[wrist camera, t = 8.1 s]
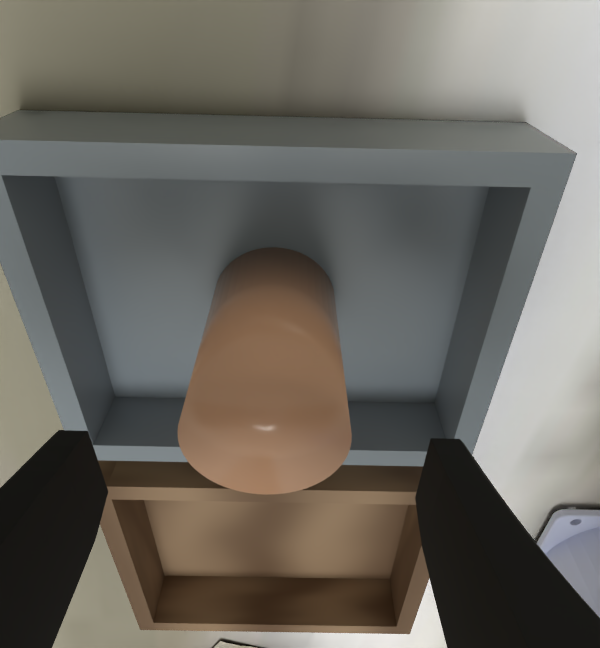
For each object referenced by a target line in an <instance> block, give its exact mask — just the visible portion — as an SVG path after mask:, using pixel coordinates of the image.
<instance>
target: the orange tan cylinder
mask: <svg viewBox="0 0 600 648" xmlns="http://www.w3.org/2000/svg"><path fill="white" fill-rule="evenodd" d="M177 433H178V442H179V446H180V449H181V451H182V453H183V455H184V456H185V458H186V459H187V461H188V462H189V463H190V464H191V466H192V467H193V468H194V469H195V470H197V471H198V472H199V473H200V474H201V475H203V476H204V477H206V478H207V479H209V480H211V481H213V482H215V483H217V484H219V485H221V486H224V487H226V488H229V489H233V490H236V491H240V492H245V493H252V494H265V495H268V494H284V493H290V492H295V491H299V490H302V489H306V488H308V487H311V486H313V485H316V484H318V483H320V482H321V481H323V480H325V479H326V478H328V477H329V476H331V475H332V474H333V473H334V472H335V471H337V469H338V468H339V467H340V466H341V465H342V464H343V462H344V461H345V459H346V458H347V455H348V453H349V451H350V447H351V441H352V433H351V425H350V417H349V409H348V400H347V392H346V384H345V376H344V368H343V360H342V352H341V344H340V335H339V327H338V319H337V311H336V303H335V295H334V289H333V286H332V283H331V281H330V279H329V277H328V275H327V274H326V272H325V271H324V270H323V269H322V268H321V266H320V265H319V264H317V263H316V262H315V261H314V260H312V259H311V258H309V257H308V256H306V255H304V254H302V253H300V252H297V251H294V250H290V249H285V248H277V247H270V248H261V249H256V250H253V251H249V252H247V253H245V254H242V255H241V256H239V257H237V258H236V259H235V260H233V261H232V262H231V263H230V264H229V265H228V266H227V267H226V268H225V269H224V270H223V272H222V273H221V275H220V277H219V279H218V281H217V284H216V287H215V291H214V295H213V299H212V302H211V306H210V310H209V313H208V317H207V321H206V324H205V328H204V332H203V335H202V339H201V343H200V346H199V350H198V354H197V358H196V361H195V365H194V369H193V372H192V376H191V380H190V383H189V387H188V391H187V394H186V398H185V402H184V405H183V409H182V413H181V417H180V420H179V424H178V432H177Z"/></svg>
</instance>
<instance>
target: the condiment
mask: <svg viewBox="0 0 600 648" xmlns="http://www.w3.org/2000/svg"><path fill="white" fill-rule="evenodd" d="M214 648H256V647H251V646H239V645H235V644H230V643H225V642H222V641H220V642H219V643H218V644H217V645H216V646H215V647H214Z"/></svg>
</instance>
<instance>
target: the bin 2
mask: <svg viewBox="0 0 600 648" xmlns="http://www.w3.org/2000/svg"><path fill="white" fill-rule="evenodd" d="M98 462H99V465H100V468H101V471H102V474H103V477H104V480H105V483H106V486H107V489H108V495H107V498H106V502H105V506H104V510H103V514H102V518H101V521H100V525H101V528H102V530H103V533H104V536H105V538H106V541H107V544H108V546H109V549H110V551H111V554H112V557H113V559H114V562H115V565H116V567H117V570H118V572H119V575H120V578H121V580H122V583H123V585H124V588H125V591H126V593H127V596H128V599H129V601H130V604H131V606H132V609H133V612H134V614H135V617H136V620H137V622H138V625H139V627H140V630H189V631H253V632H318V633H382V634H410V632H411V629H412V626H413V623H414V620H415V617H416V615H417V612H418V609H419V606H420V603H421V600H422V597H423V594H424V592H425V589H426V586H427V583H428V580H429V573H428V569H427V565H426V561H425V557H424V553H423V549H422V544H421V537H420V531H419V524H418V516H417V509H416V501H415V496H416V492H417V489H418V485H419V481H420V477H421V473H422V469H423V466H375V465H341V466H340V467H339V468H338V469H337V471H335V472H334V473H333V474H332V475H331V476H329V477H328V478H326V479H325V480H323V481H321V482H320V483H318V484H316V485H313V486H311V487H308V488H306V489H302V490H299V491H295V492H290V493H284V494H268V495H265V494H252V493H245V492H240V491H236V490H233V489H229V488H226V487H224V486H221V485H219V484H217V483H215V482H213V481H211V480H209V479H207V478H206V477H204V476H203V475H201V474H200V473H199V472H198V471H197V470H195V469H194V468H193V467H192V466H191V464H190V463H189V462H157V461H103V460H98Z"/></svg>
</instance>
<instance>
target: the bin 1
mask: <svg viewBox="0 0 600 648" xmlns="http://www.w3.org/2000/svg"><path fill="white" fill-rule="evenodd" d="M576 155H577V153H575V152H574V151H572V150H570V149H569V148H567V147H566V146H564V145H562V144H561V143H559V142H557V141H556V140H554V139H553V138H551V137H549V136H548V135H546V134H544V133H543V132H541V131H540V130H538V129H536V128H535V127H533V126H531V125H530V124H528V123H527V122H488V121H447V120H406V119H365V118H324V117H283V116H241V115H200V114H159V113H118V112H77V111H36V110H17V111H15V112H13V113H10V114H8V115H6V116H4V117H1V118H0V263H1V266H2V268H3V271H4V274H5V276H6V279H7V281H8V284H9V287H10V289H11V292H12V295H13V297H14V300H15V302H16V305H17V308H18V310H19V313H20V316H21V318H22V321H23V323H24V326H25V329H26V331H27V334H28V336H29V339H30V342H31V344H32V347H33V350H34V352H35V355H36V357H37V360H38V363H39V365H40V368H41V371H42V373H43V376H44V378H45V381H46V384H47V386H48V389H49V392H50V394H51V397H52V399H53V402H54V405H55V407H56V410H57V412H58V415H59V418H60V420H61V423H62V426H63V428H64V430H72V431H88V433H89V436H90V439H91V441H92V444H93V447H94V450H95V453H96V456H97V459H98V460H103V461H157V462H188V461H187V459H186V458H185V456H184V455H183V453H182V451H181V449H180V446H179V442H178V433H177V432H178V424H179V420H180V417H181V413H182V409H183V405H184V402H185V398H186V394H187V391H188V387H189V383H190V380H191V376H192V372H193V369H194V365H195V361H196V358H197V354H198V350H199V346H200V343H201V339H202V335H203V332H204V328H205V324H206V321H207V317H208V313H209V310H210V306H211V302H212V299H213V295H214V291H215V287H216V284H217V281H218V279H219V277H220V275H221V273H222V272H223V270H224V269H225V268H226V267H227V266H228V265H229V264H230V263H231V262H232V261H233V260H235V259H236V258H237V257H239V256H241V255H242V254H245V253H247V252H249V251H253V250H256V249H261V248H270V247H277V248H285V249H290V250H294V251H297V252H300V253H302V254H304V255H306V256H308V257H309V258H311V259H312V260H314V261H315V262H316V263H317V264H319V265H320V266H321V268H322V269H323V270H324V271H325V272H326V274H327V275H328V277H329V279H330V281H331V283H332V286H333V289H334V295H335V303H336V311H337V319H338V327H339V335H340V344H341V352H342V360H343V368H344V376H345V384H346V392H347V400H348V409H349V417H350V425H351V433H352V441H351V447H350V451H349V453H348V455H347V458H346V459H345V461H344V462H343V464H342V465H375V466H424V462H425V458H426V454H427V450H428V447H429V443H430V439H431V438H445V439H460V440H461V441H462V442H463V443H464V444H465V446H466V447H467V449H468V450H469V452H470V453H471V455H472V454H473V451H474V448H475V445H476V442H477V439H478V436H479V434H480V431H481V428H482V425H483V422H484V419H485V416H486V413H487V411H488V408H489V405H490V402H491V399H492V396H493V393H494V390H495V388H496V385H497V382H498V379H499V376H500V373H501V370H502V367H503V365H504V362H505V359H506V356H507V353H508V350H509V347H510V345H511V342H512V339H513V336H514V333H515V330H516V327H517V324H518V322H519V319H520V316H521V313H522V310H523V307H524V304H525V301H526V299H527V296H528V293H529V290H530V287H531V284H532V281H533V278H534V276H535V273H536V270H537V267H538V264H539V261H540V258H541V255H542V253H543V250H544V247H545V244H546V241H547V238H548V235H549V232H550V230H551V227H552V224H553V221H554V218H555V215H556V212H557V209H558V207H559V204H560V201H561V198H562V195H563V192H564V189H565V186H566V184H567V181H568V178H569V175H570V172H571V169H572V166H573V164H574V161H575V158H576Z"/></svg>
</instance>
